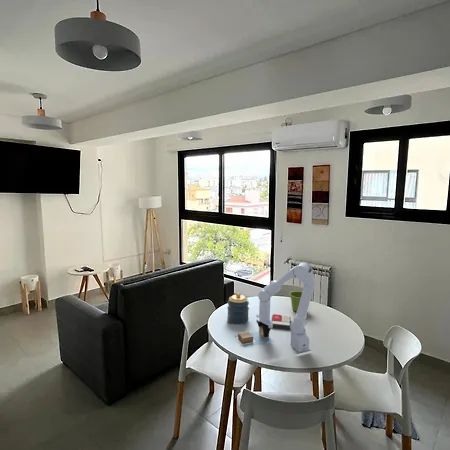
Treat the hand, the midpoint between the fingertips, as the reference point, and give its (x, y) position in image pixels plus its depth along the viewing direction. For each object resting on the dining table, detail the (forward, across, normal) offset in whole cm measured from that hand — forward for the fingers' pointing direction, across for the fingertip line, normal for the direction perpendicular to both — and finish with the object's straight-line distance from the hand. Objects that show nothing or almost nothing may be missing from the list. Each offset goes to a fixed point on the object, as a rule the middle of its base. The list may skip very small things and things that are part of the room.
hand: (263, 334), depth 163 cm
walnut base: (+1, 0, -11) cm, 11 cm away
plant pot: (+2, -25, +39) cm, 46 cm away
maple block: (+1, 0, 0) cm, 1 cm away
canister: (+2, -24, -5) cm, 25 cm away
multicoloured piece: (+3, -11, +17) cm, 21 cm away
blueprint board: (+2, 0, -6) cm, 6 cm away
